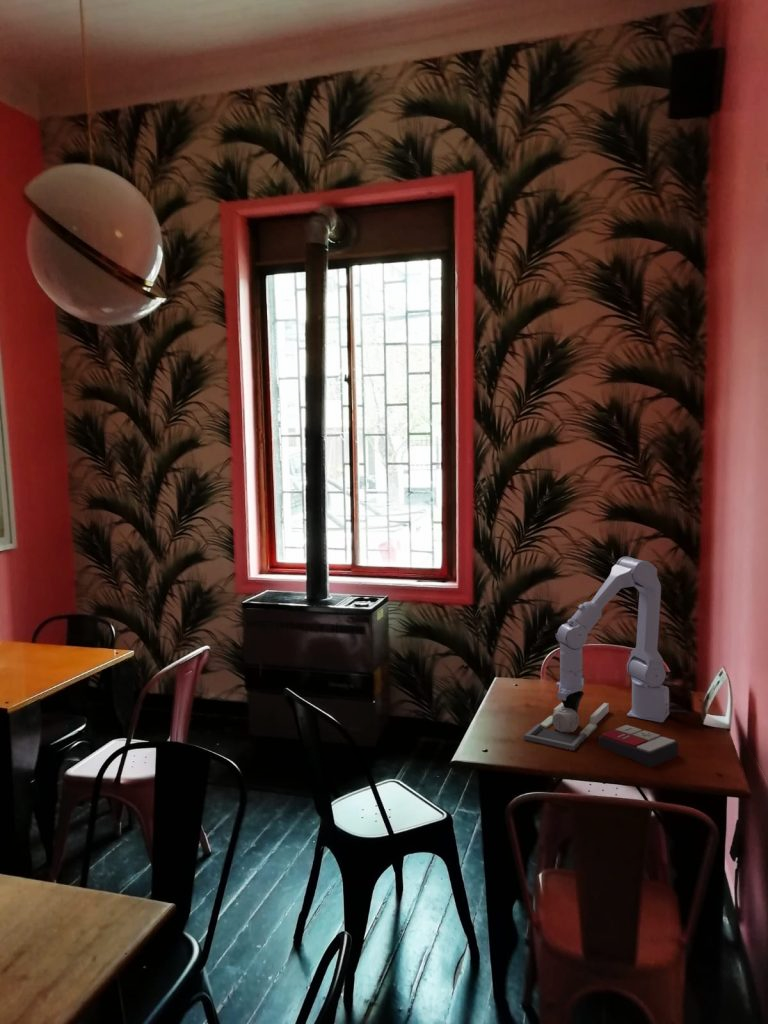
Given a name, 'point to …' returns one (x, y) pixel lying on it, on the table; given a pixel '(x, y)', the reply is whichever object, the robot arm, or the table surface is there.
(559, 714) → the die
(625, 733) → the calculator
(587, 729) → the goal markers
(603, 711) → the white guide rails
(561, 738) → the tray
